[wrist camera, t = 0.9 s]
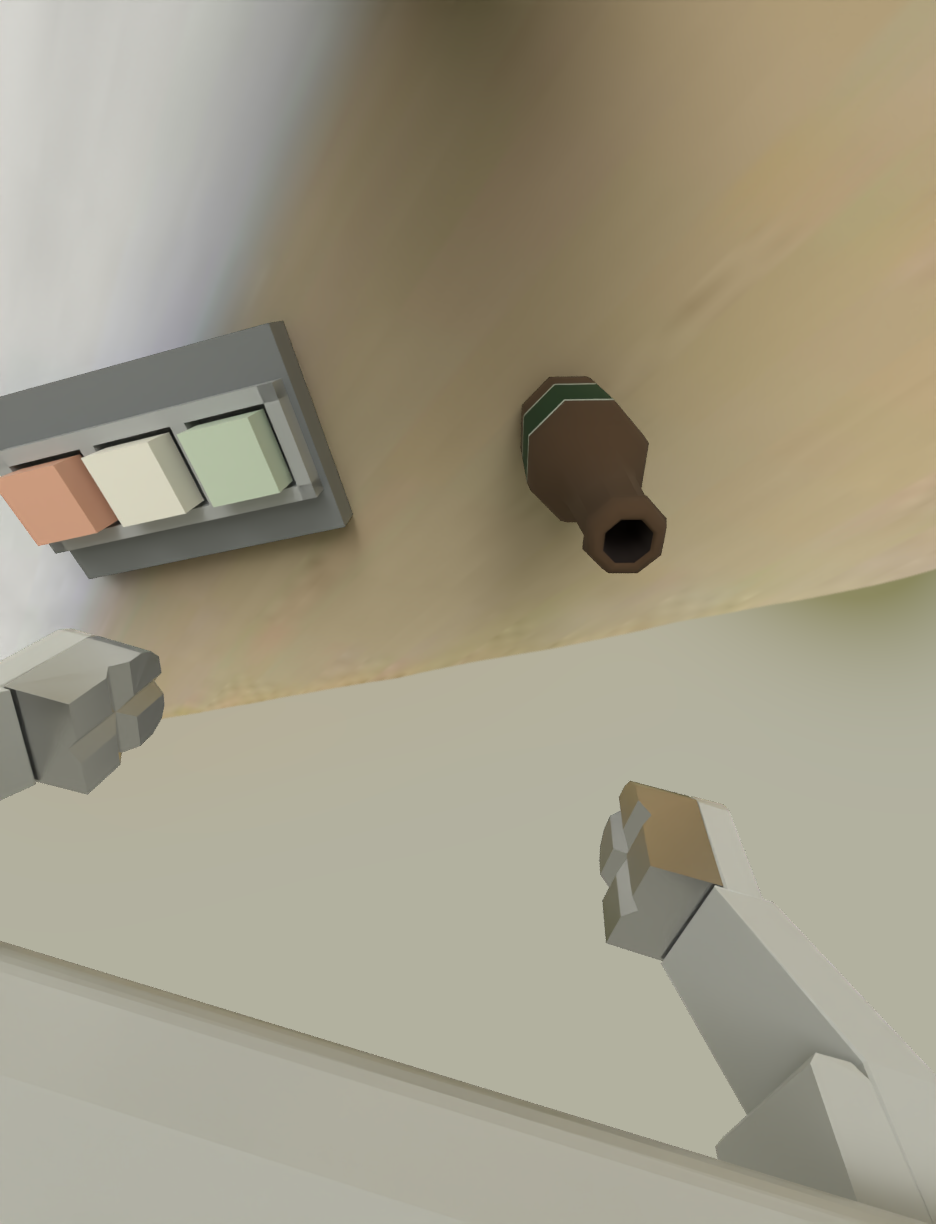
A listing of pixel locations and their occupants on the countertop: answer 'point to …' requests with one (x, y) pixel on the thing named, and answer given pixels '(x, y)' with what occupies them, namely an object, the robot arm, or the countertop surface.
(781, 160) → the countertop surface
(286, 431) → the keypad
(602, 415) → the beer bottle
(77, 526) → the terracotta key
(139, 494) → the cream key
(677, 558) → the countertop surface
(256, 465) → the sage key
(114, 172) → the countertop surface
